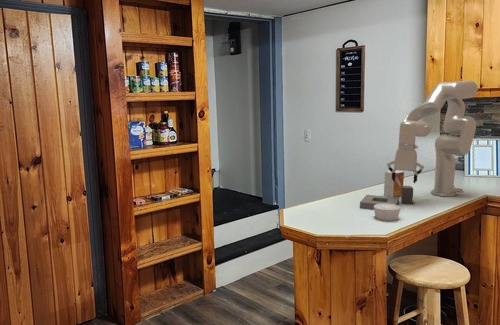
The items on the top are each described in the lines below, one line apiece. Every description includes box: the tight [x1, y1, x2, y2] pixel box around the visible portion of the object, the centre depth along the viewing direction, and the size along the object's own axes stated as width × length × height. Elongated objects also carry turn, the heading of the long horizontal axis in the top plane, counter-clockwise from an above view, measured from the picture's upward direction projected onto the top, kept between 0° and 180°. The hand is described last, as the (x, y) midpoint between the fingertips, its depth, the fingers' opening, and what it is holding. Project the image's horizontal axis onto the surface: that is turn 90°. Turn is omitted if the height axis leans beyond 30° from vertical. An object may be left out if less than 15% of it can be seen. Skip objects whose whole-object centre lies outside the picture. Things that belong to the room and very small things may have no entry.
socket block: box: [359, 194, 400, 211], centre depth 212 cm, size 16×16×3 cm
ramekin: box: [373, 204, 401, 222], centre depth 193 cm, size 11×11×5 cm
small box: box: [383, 170, 405, 198], centre depth 232 cm, size 8×6×13 cm
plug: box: [400, 185, 414, 206], centre depth 217 cm, size 5×5×9 cm
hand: (404, 181), depth 215 cm, fingers open, 9 cm apart
